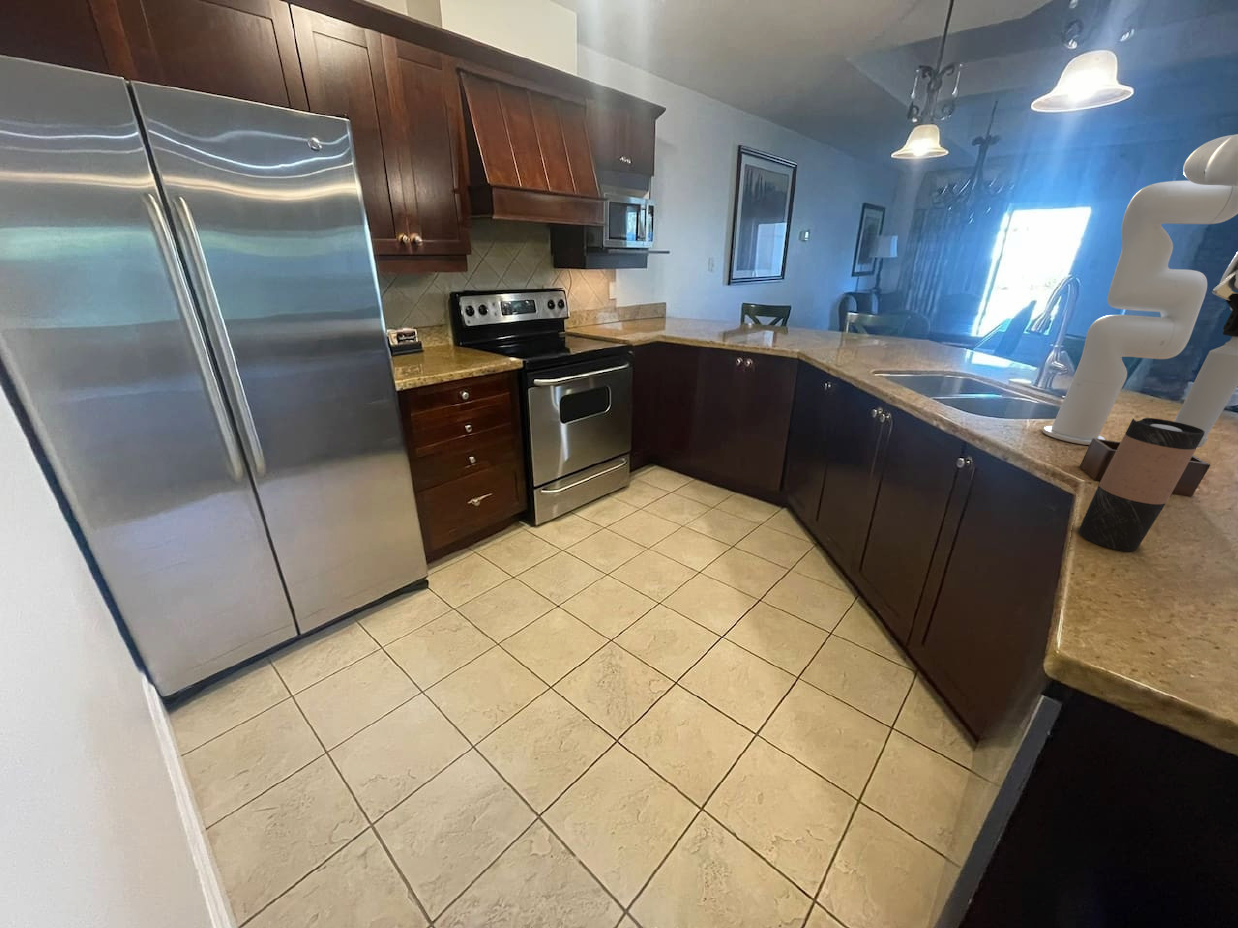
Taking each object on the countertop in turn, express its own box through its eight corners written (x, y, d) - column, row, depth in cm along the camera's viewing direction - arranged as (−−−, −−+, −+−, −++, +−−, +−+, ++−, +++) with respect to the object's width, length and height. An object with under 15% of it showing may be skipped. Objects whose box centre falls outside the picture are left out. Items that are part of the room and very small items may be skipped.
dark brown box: (1079, 466, 107) (1092, 438, 105) (1169, 481, 102) (1186, 451, 99) (1094, 480, 101) (1109, 449, 98) (1192, 496, 95) (1210, 464, 92)
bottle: (1212, 449, 85) (1297, 303, 75) (1178, 446, 86) (1258, 301, 76) (1186, 439, 90) (1264, 301, 80) (1154, 436, 91) (1227, 299, 81)
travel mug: (1146, 558, 73) (1217, 437, 65) (1081, 542, 77) (1141, 426, 69) (1130, 536, 79) (1193, 423, 71) (1071, 522, 83) (1124, 413, 75)
